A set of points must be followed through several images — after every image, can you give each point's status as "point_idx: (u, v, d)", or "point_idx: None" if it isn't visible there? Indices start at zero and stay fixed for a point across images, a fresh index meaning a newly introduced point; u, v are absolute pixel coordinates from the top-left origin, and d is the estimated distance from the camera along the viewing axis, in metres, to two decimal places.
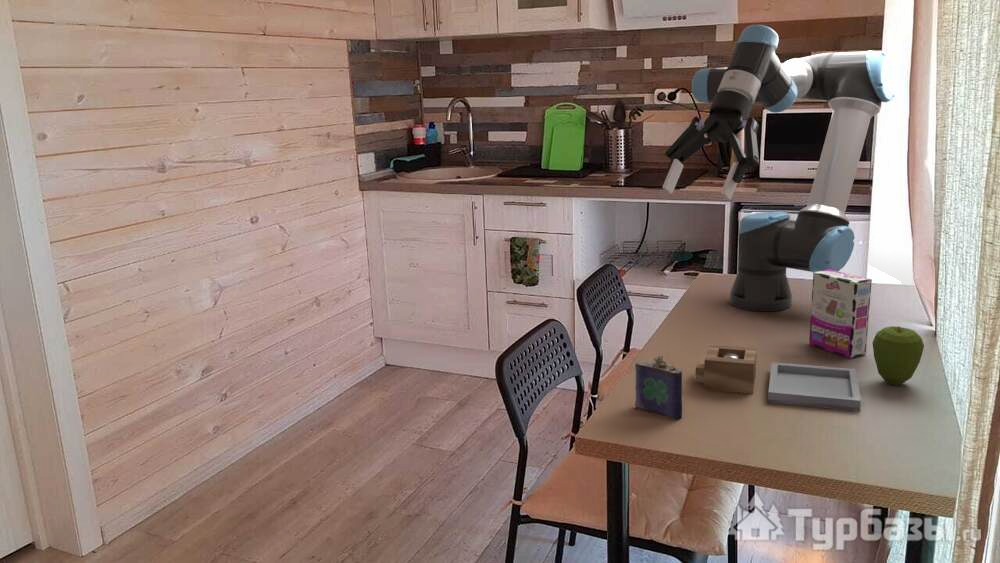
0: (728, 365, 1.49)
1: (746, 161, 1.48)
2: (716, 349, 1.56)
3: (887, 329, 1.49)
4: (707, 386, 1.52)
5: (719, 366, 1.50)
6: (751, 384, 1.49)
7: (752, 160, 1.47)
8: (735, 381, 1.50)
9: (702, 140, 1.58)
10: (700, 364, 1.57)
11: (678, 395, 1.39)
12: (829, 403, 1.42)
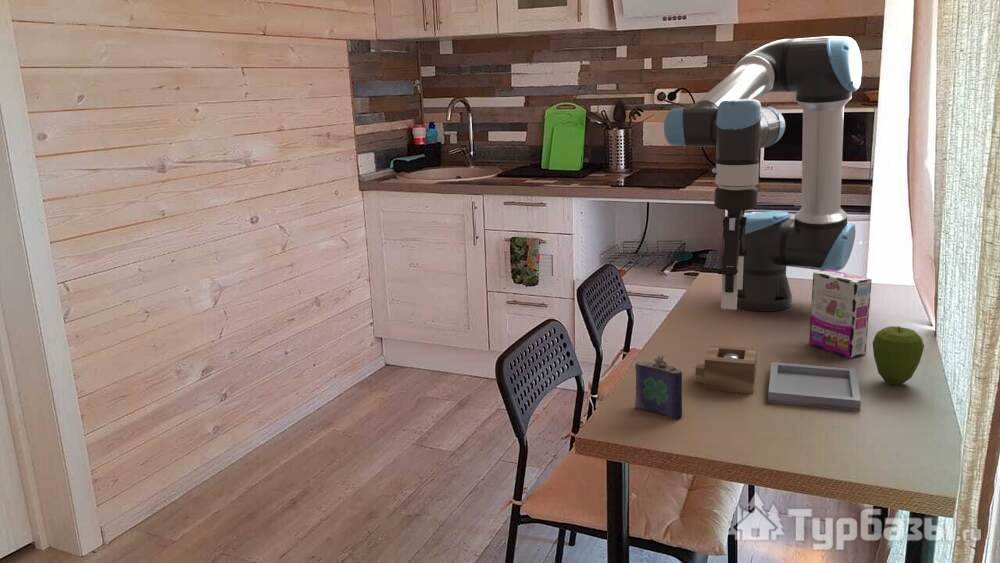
0: (728, 365, 1.49)
1: None
2: (716, 349, 1.56)
3: (887, 329, 1.49)
4: (707, 386, 1.52)
5: (719, 366, 1.50)
6: (751, 384, 1.49)
7: (723, 272, 1.40)
8: (735, 381, 1.50)
9: None
10: (700, 364, 1.57)
11: (678, 395, 1.39)
12: (829, 403, 1.42)
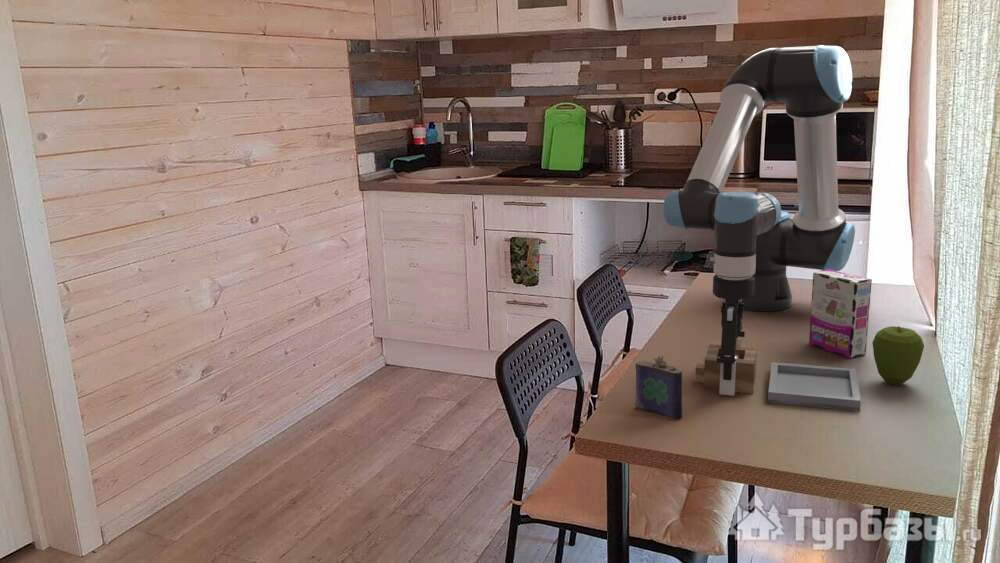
0: None
1: None
2: (716, 349, 1.56)
3: (887, 329, 1.49)
4: (707, 386, 1.52)
5: (719, 366, 1.50)
6: (751, 384, 1.49)
7: (722, 362, 1.44)
8: (735, 381, 1.50)
9: None
10: (700, 364, 1.57)
11: (678, 395, 1.39)
12: (829, 403, 1.42)
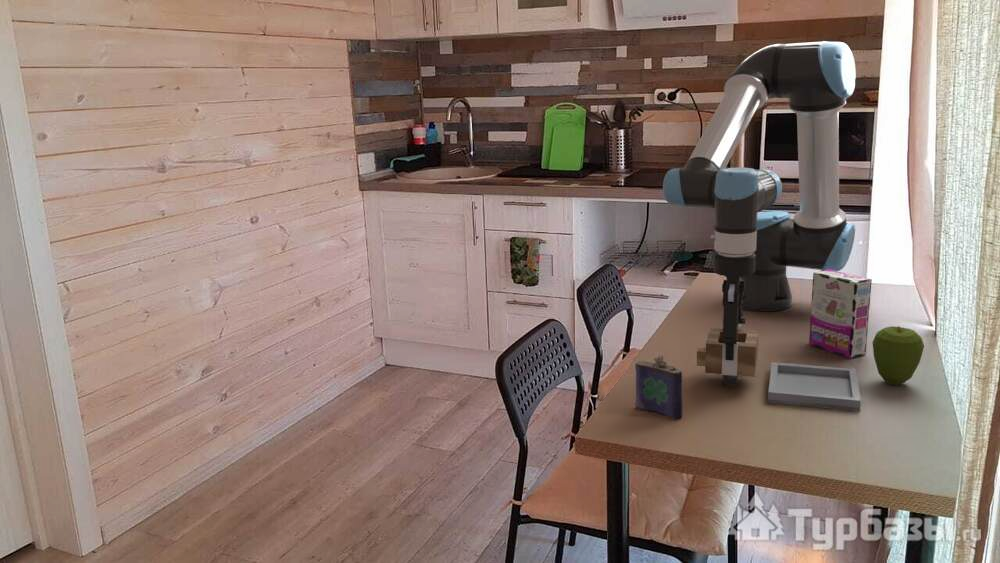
0: None
1: (725, 342, 1.47)
2: (717, 333, 1.55)
3: (887, 329, 1.49)
4: (708, 370, 1.51)
5: (720, 349, 1.50)
6: (753, 367, 1.48)
7: (724, 342, 1.45)
8: None
9: None
10: (701, 348, 1.56)
11: (678, 395, 1.39)
12: (829, 403, 1.42)
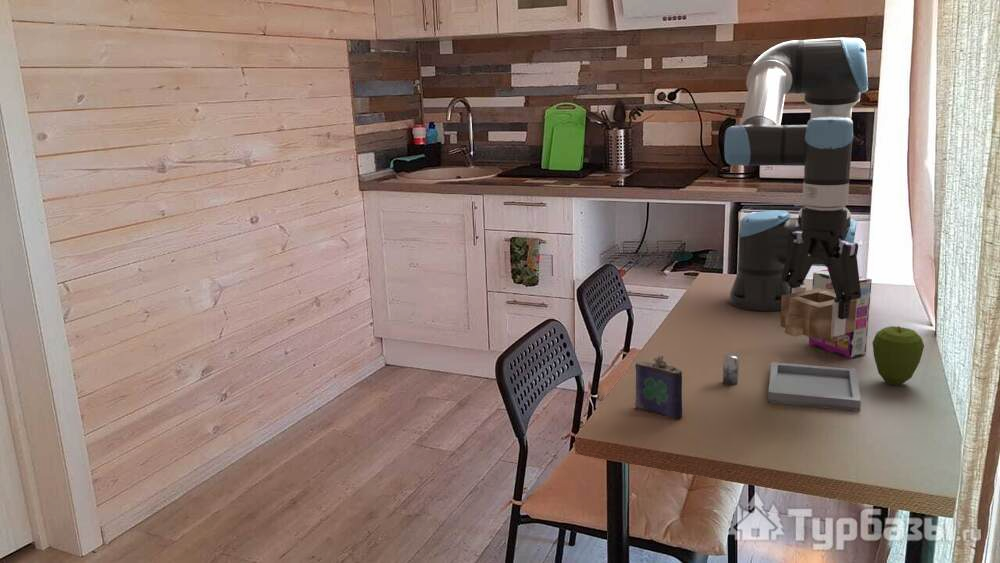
0: None
1: (845, 300, 1.38)
2: (799, 297, 1.45)
3: (887, 329, 1.49)
4: (820, 335, 1.41)
5: (830, 310, 1.40)
6: (853, 321, 1.44)
7: (851, 299, 1.37)
8: None
9: (809, 259, 1.45)
10: (791, 317, 1.44)
11: (678, 395, 1.39)
12: (829, 403, 1.42)
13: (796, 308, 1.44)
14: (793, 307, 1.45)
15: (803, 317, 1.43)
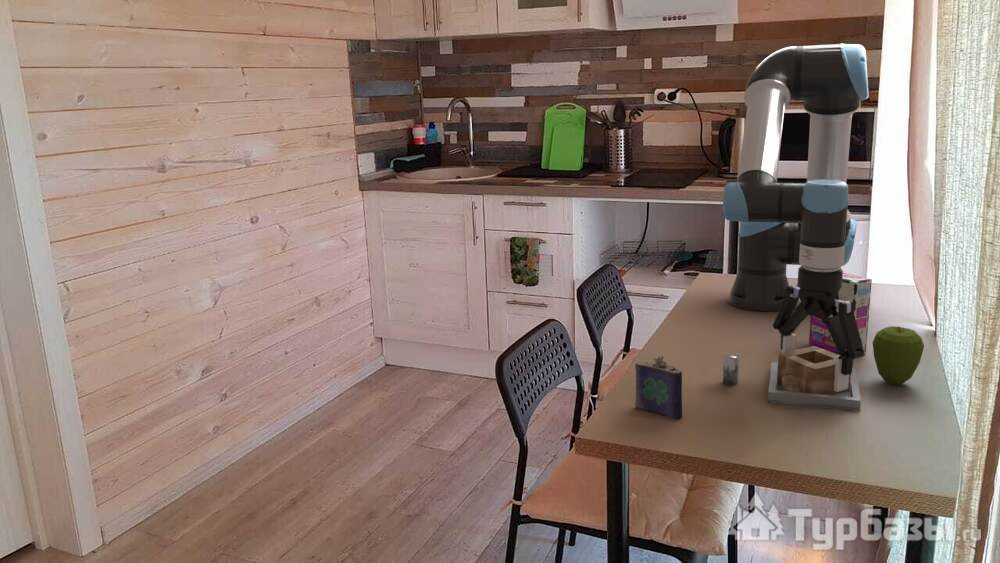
0: (833, 368, 1.44)
1: (849, 356, 1.40)
2: (796, 357, 1.48)
3: (887, 329, 1.49)
4: None
5: (826, 372, 1.44)
6: None
7: (854, 357, 1.38)
8: None
9: (803, 314, 1.49)
10: (787, 377, 1.47)
11: (678, 395, 1.39)
12: (829, 403, 1.42)
13: (792, 368, 1.47)
14: (790, 366, 1.48)
15: (799, 377, 1.46)
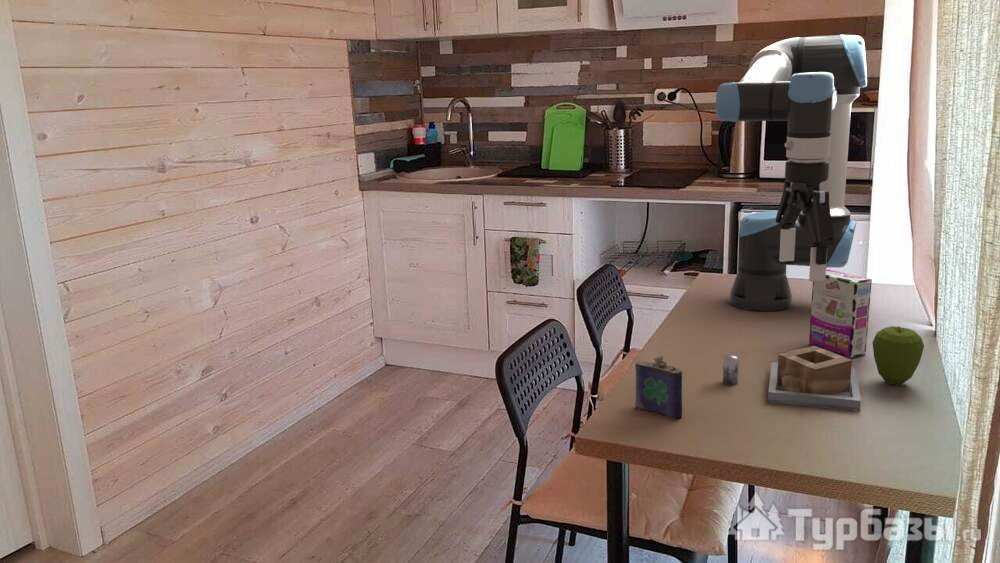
0: (833, 368, 1.44)
1: None
2: (796, 357, 1.48)
3: (887, 329, 1.49)
4: None
5: (826, 372, 1.44)
6: (848, 381, 1.47)
7: (823, 245, 1.41)
8: (837, 383, 1.46)
9: (796, 207, 1.52)
10: (787, 377, 1.47)
11: (678, 395, 1.39)
12: (829, 403, 1.42)
13: (792, 368, 1.47)
14: (790, 366, 1.48)
15: (799, 377, 1.46)
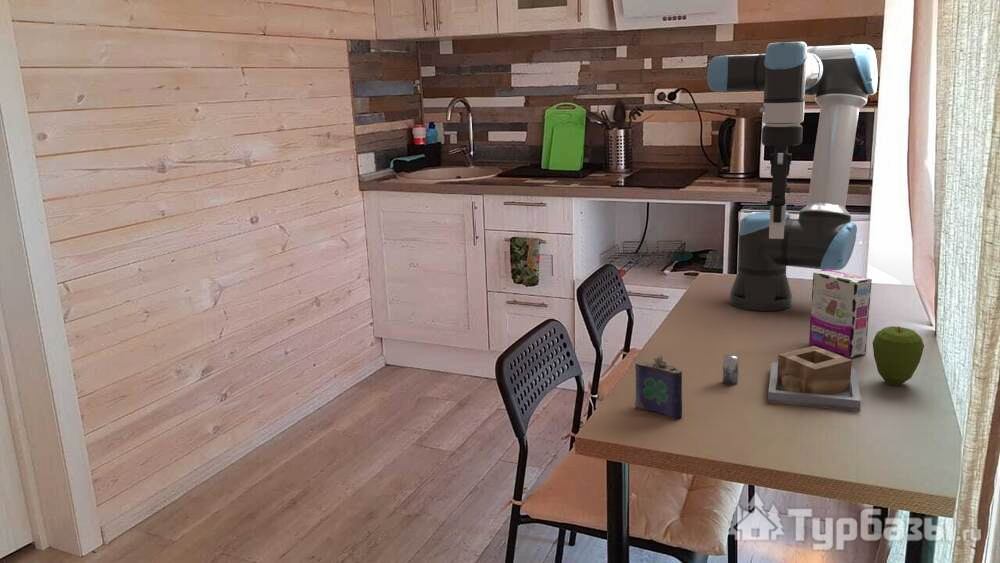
0: (833, 368, 1.44)
1: None
2: (796, 357, 1.48)
3: (887, 329, 1.49)
4: None
5: (826, 372, 1.44)
6: (848, 381, 1.47)
7: (773, 203, 1.50)
8: (837, 383, 1.46)
9: None
10: (787, 377, 1.47)
11: (678, 395, 1.39)
12: (829, 403, 1.42)
13: (792, 368, 1.47)
14: (790, 366, 1.48)
15: (799, 377, 1.46)
